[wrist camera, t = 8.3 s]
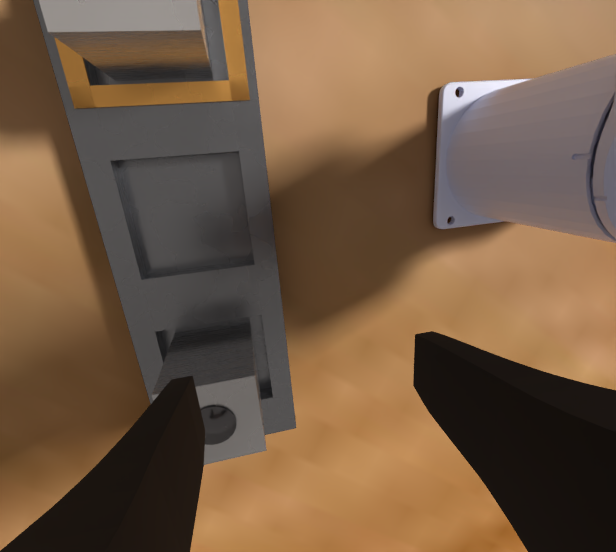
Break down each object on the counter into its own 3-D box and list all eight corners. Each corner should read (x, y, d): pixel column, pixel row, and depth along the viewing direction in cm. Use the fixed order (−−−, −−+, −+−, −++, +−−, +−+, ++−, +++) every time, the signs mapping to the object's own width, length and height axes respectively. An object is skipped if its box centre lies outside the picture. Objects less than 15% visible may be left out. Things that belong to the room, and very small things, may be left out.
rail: (228, -138, 14) (226, -184, 12) (291, 408, 23) (296, 429, 21) (9, -154, 12) (-29, -208, 10) (171, 434, 21) (165, 458, 20)
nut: (249, 320, 19) (254, 377, 14) (258, 380, 21) (266, 451, 15) (175, 332, 18) (151, 396, 13) (189, 393, 20) (173, 473, 15)
